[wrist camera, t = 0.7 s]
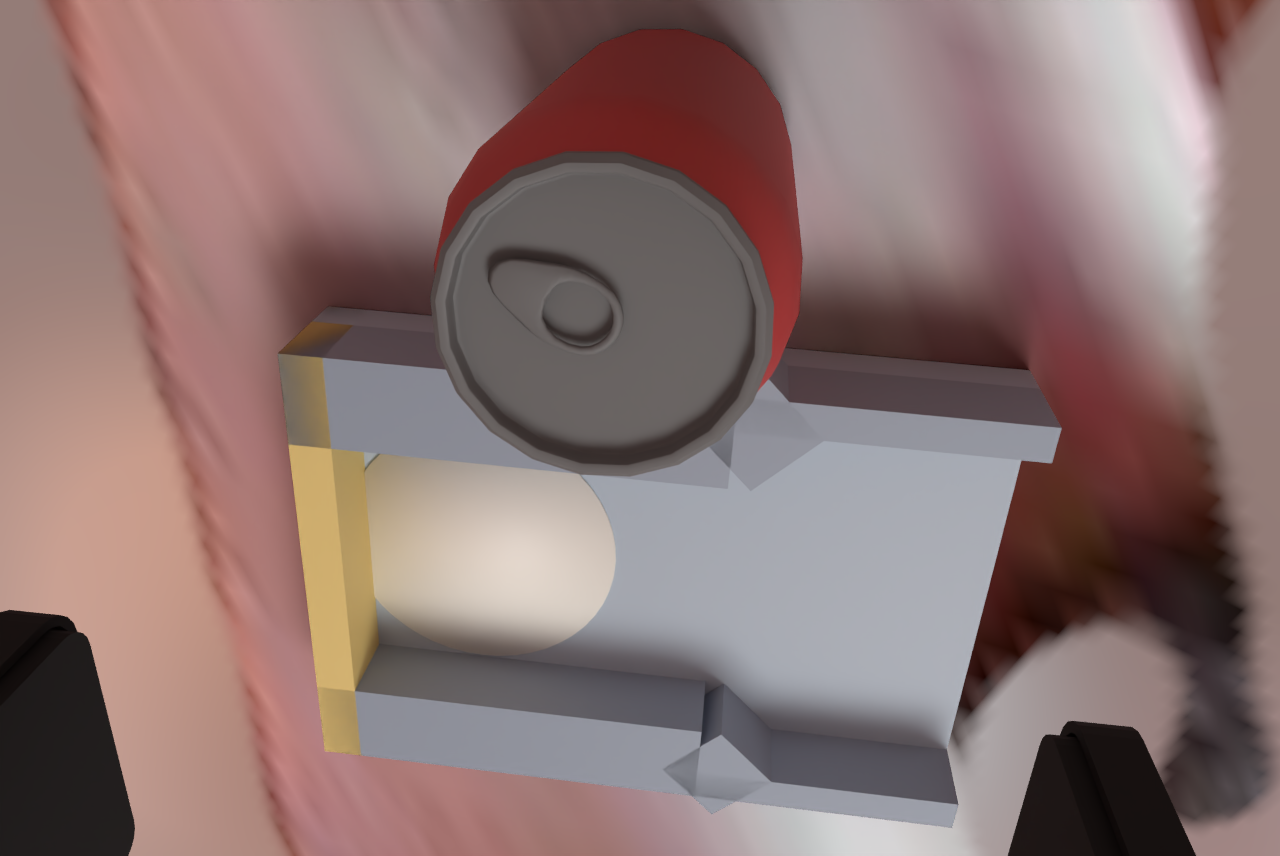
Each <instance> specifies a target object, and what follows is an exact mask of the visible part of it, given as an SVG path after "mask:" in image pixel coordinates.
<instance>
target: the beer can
mask: <svg viewBox="0 0 1280 856" xmlns="http://www.w3.org/2000/svg"><path fill="white" fill-rule="evenodd" d="M434 269H435V277H434V281H433V286H432V291H431V295H430V301H431V310H432V319H433V327H434V336H435V345H436V349H437V351H438V353H439V355H440V358H441V360H442V362H443V364H444V366H445V369H446V371H447V373H448V375H449V378H450V380H451V382H452V384H453V386H454V389H455V391H456V393H457V394H458V395H459V397H460V398H461V399H462V400H463V401H464V402H465V403H466V405H467V406H468V407H469V408H470V409H471V410H472V411H473V413H474V414H475V415H476V416H477V417H478V418H479V420H480V421H481V422H482V423H483V424H484V425H485V426H486V428H487V429H488V430H489V431H490V432H492V433H493V434H495V435H496V436H498V437H499V438H501V439H502V440H504V441H505V442H507V443H508V444H510V445H511V446H513V447H514V448H516V449H517V450H519V451H521V452H522V453H524V454H525V455H527V456H528V457H530V458H531V459H533V460H536V461H539V462H543V463H546V464H549V465H552V466H555V467H558V468H561V469H564V470H568V471H571V472H574V473H577V474H580V475H602V476H627V477H631V476H635V475H639V474H643V473H647V472H651V471H656V470H660V469H664V468H668V467H672V466H676V465H679V464H681V463H682V462H684V461H686V460H688V459H689V458H691V457H693V456H694V455H696V454H698V453H699V452H701V451H703V450H704V449H706V448H708V447H709V446H711V445H713V444H714V443H716V442H718V441H719V440H721V439H722V438H723V436H724V435H725V434H726V433H727V432H728V431H729V430H730V428H731V427H732V426H733V425H734V424H735V423H736V422H737V420H738V419H739V418H740V417H741V416H742V415H743V414H744V412H745V411H746V410H747V409H748V408H749V407H750V406H751V404H752V403H753V401H754V399H755V396H756V394H757V392H758V391H759V390H760V388H761V387H762V386H763V385H764V384H765V383H766V382H767V380H768V379H769V378H770V377H771V376H772V374H773V372H774V371H775V369H776V367H777V365H778V364H779V361H780V359H781V357H782V354H783V352H784V349H785V347H786V344H787V342H788V339H789V337H790V335H791V332H792V330H793V327H794V325H795V322H796V320H797V318H798V315H799V309H800V292H801V274H802V248H801V238H800V228H799V218H798V208H797V198H796V188H795V179H794V169H793V159H792V149H791V143H790V139H789V135H788V132H787V128H786V124H785V121H784V117H783V113H782V110H781V106H780V104H779V102H778V101H777V99H776V98H775V96H774V95H773V93H772V92H771V90H770V89H769V87H768V86H767V84H766V83H765V81H764V80H763V78H762V77H761V75H760V74H759V72H758V71H757V69H756V68H754V67H753V66H752V65H750V64H749V63H748V62H747V61H745V60H744V59H743V58H741V57H740V56H739V55H738V54H736V53H735V52H734V51H732V50H731V49H730V48H729V47H727V46H726V45H725V44H723V43H721V42H718V41H715V40H712V39H710V38H707V37H704V36H701V35H698V34H695V33H692V32H689V31H686V30H683V29H640V30H637V31H634V32H631V33H628V34H626V35H623V36H620V37H617V38H614V39H612V40H609V41H606V42H603V43H600V44H599V45H598V46H597V47H595V48H594V49H593V50H592V51H590V52H589V53H588V54H587V55H585V56H584V57H583V58H582V59H580V60H579V61H578V62H577V63H575V64H574V65H573V66H572V67H570V68H569V69H568V70H567V71H566V72H564V73H563V74H562V75H561V76H560V77H559V78H558V79H557V80H555V81H554V82H553V83H552V84H551V85H550V86H549V87H548V88H546V89H545V90H544V91H543V92H542V93H541V94H540V95H539V96H537V97H536V98H535V99H534V100H533V101H532V102H531V103H530V104H529V105H527V106H526V107H525V108H524V109H523V110H522V111H521V112H520V113H518V114H517V115H516V116H515V117H514V118H513V119H512V120H511V121H509V122H508V123H507V124H506V125H505V126H504V127H503V128H502V129H500V130H499V131H498V132H497V133H496V134H495V135H494V136H493V137H491V138H490V139H489V140H488V141H487V142H486V143H485V144H484V145H482V146H481V147H480V148H479V149H478V151H477V152H476V154H475V155H474V157H473V159H472V160H471V162H470V163H469V165H468V167H467V168H466V170H465V172H464V173H463V175H462V176H461V178H460V180H459V181H458V183H457V184H456V186H455V188H454V189H453V191H452V193H451V194H450V196H449V198H448V203H447V207H446V212H445V216H444V221H443V225H442V230H441V234H440V239H439V244H438V248H437V253H436V258H435V263H434Z"/></svg>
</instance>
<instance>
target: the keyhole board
mask: <svg viewBox="0 0 1280 856" xmlns="http://www.w3.org/2000/svg"><path fill="white" fill-rule="evenodd" d="M278 361H279V369H280V378H281V386H282V394H283V403H284V411H285V420H286V428H287V436H288V445H289V453H290V462H291V470H292V479H293V487H294V495H295V504H296V512H297V521H298V529H299V537H300V546H301V554H302V563H303V571H304V579H305V588H306V596H307V605H308V613H309V622H310V630H311V638H312V647H313V655H314V664H315V672H316V680H317V689H318V697H319V706H320V714H321V723H322V731H323V739H324V748H325V751H329V752H338V753H346V754H354V755H362V756H370V757H378V758H387V759H395V760H403V761H411V762H419V763H427V764H436V765H444V766H452V767H460V768H468V769H476V770H484V771H493V772H501V773H509V774H517V775H525V776H533V777H542V778H550V779H558V780H566V781H574V782H582V783H591V784H599V785H607V786H615V787H623V788H631V789H640V790H648V791H656V792H664V793H672V794H680V795H689V796H692V797H693V798H694V799H696V800H697V801H698V802H699V803H700V804H701V805H702V806H703V807H704V808H705V809H706V810H708V811H709V812H710V813H711V814H713V813H715V812H717V811H719V810H721V809H722V808H724V807H726V806H728V805H730V804H732V803H734V802H735V801H737V802H746V803H754V804H762V805H770V806H778V807H786V808H795V809H803V810H811V811H819V812H827V813H835V814H844V815H852V816H860V817H868V818H876V819H884V820H893V821H901V822H909V823H917V824H925V825H933V826H942V827H950V828H952V826H953V822H954V819H955V815H956V812H957V808H958V801H957V796H956V791H955V786H954V782H953V777H952V772H951V767H950V763H949V758H948V753H947V747H948V743H949V739H950V735H951V731H952V727H953V723H954V720H955V716H956V712H957V708H958V704H959V700H960V696H961V692H962V688H963V685H964V681H965V677H966V673H967V669H968V665H969V661H970V657H971V654H972V650H973V646H974V642H975V638H976V634H977V630H978V626H979V623H980V619H981V615H982V611H983V607H984V603H985V599H986V595H987V592H988V588H989V584H990V580H991V576H992V572H993V568H994V564H995V560H996V557H997V553H998V549H999V545H1000V541H1001V537H1002V533H1003V529H1004V526H1005V522H1006V518H1007V514H1008V510H1009V506H1010V502H1011V498H1012V495H1013V491H1014V487H1015V483H1016V479H1017V475H1018V471H1019V467H1020V464H1021V460H1024V461H1034V462H1044V463H1052V461H1053V457H1054V454H1055V450H1056V447H1057V443H1058V439H1059V436H1060V432H1061V426H1060V424H1059V423H1058V421H1057V419H1056V417H1055V415H1054V413H1053V412H1052V410H1051V408H1050V406H1049V404H1048V403H1047V401H1046V399H1045V397H1044V395H1043V394H1042V392H1041V390H1040V388H1039V386H1038V385H1037V383H1036V381H1035V379H1034V377H1033V375H1032V374H1031V372H1030V370H1021V369H1010V368H999V367H988V366H977V365H966V364H955V363H944V362H933V361H922V360H911V359H900V358H889V357H878V356H867V355H856V354H845V353H834V352H823V351H812V350H801V349H790V348H785V349H784V352H783V354H782V357H781V359H780V361H779V364H778V365H777V367H776V369H775V371H774V372H773V374H772V376H771V377H770V378H769V379H768V380H767V382H766V383H765V384H764V385H763V386H762V387H761V388H760V390H759V391H758V392H757V394H756V396H755V399H754V401H753V403H752V404H751V406H750V407H749V408H748V409H747V410H746V411H745V412H744V414H743V415H742V416H741V417H740V418H739V419H738V420H737V422H736V423H735V424H734V425H733V426H732V427H731V428H730V430H729V431H728V432H727V433H726V434H725V435H724V436H723V438H722V439H721V440H719V441H718V442H716V443H714V444H713V445H711V446H709V447H708V448H706V449H704V450H703V451H701V452H699V453H698V454H696V455H694V456H693V457H691V458H689V459H688V460H686V461H684V462H682V463H681V464H679V465H676V466H672V467H668V468H664V469H660V470H656V471H651V472H647V473H643V474H639V475H635V476H631V477H627V476H602V475H580V474H577V473H574V472H571V471H568V470H564V469H561V468H558V467H555V466H552V465H549V464H546V463H543V462H539V461H536V460H533V459H531V458H530V457H528V456H527V455H525V454H524V453H522V452H521V451H519V450H517V449H516V448H514V447H513V446H511V445H510V444H508V443H507V442H505V441H504V440H502V439H501V438H499V437H498V436H496V435H495V434H493V433H492V432H490V431H489V430H488V429H487V428H486V426H485V425H484V424H483V423H482V422H481V421H480V420H479V418H478V417H477V416H476V415H475V414H474V413H473V411H472V410H471V409H470V408H469V407H468V406H467V405H466V403H465V402H464V401H463V400H462V399H461V398H460V397H459V395H458V394H457V393H456V391H455V389H454V386H453V384H452V382H451V380H450V378H449V375H448V373H447V371H446V369H445V366H444V364H443V362H442V360H441V358H440V355H439V353H438V351H437V349H436V345H435V336H434V327H433V319H432V316H429V315H418V314H407V313H396V312H385V311H374V310H363V309H352V308H341V307H330V306H328V307H327V308H326V309H324V310H323V311H322V312H321V313H320V314H319V315H318V316H317V317H316V318H315V319H314V320H313V321H312V322H311V323H310V324H309V325H308V326H306V327H305V328H304V329H303V330H302V331H301V332H300V333H299V334H298V335H297V336H296V337H295V338H294V339H293V340H292V341H291V342H290V343H288V344H287V345H286V346H285V347H284V348H283V349H282V350H281V351H280V352H279V353H278Z"/></svg>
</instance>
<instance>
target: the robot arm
mask: <svg viewBox="0 0 1280 856" xmlns="http://www.w3.org/2000/svg"><path fill="white" fill-rule="evenodd" d="M134 831H135V826H134V819H133V815H132V811H131V807H130V803H129V799H128V795H127V791H126V787H125V783H124V779H123V775H122V771H121V767H120V763H119V759H118V755H117V751H116V746H115V742H114V738H113V734H112V730H111V727H110V722H109V718H108V715H107V710H106V706H105V702H104V698H103V695H102V691H101V686H100V683H99V678H98V675H97V670H96V666H95V663H94V658H93V654H92V650H91V646H90V643H89V641H88V638H87V637H86V636H85V635H84V634H83V633H79V632H77V630H76V628H75V625H74V623H73V622H72V621H71V620H70V619H69V618H68V617H65V616H61V615H53V614H52V615H51V614H43V613H33V612H24V611H14V610H8V611H4V612H0V856H128V854H129V852H130V850H131V847H132V843H133V839H134ZM1008 856H1196V855H1195V852H1194V850H1193V848H1192V846H1191V844H1190V842H1189V839H1188V837H1187V835H1186V833H1185V830H1184V828H1183V826H1182V824H1181V822H1180V820H1179V817H1178V815H1177V813H1176V811H1175V809H1174V806H1173V804H1172V802H1171V800H1170V798H1169V795H1168V793H1167V791H1166V789H1165V787H1164V784H1163V782H1162V780H1161V778H1160V776H1159V774H1158V771H1157V769H1156V767H1155V765H1154V763H1153V760H1152V758H1151V756H1150V754H1149V752H1148V750H1147V747H1146V745H1145V743H1144V741H1143V739H1142V737H1141V736H1140V734H1139V732H1138V731H1137V730H1135V729H1134V728H1133V727H1125V726H1116V725H1107V724H1097V723H1087V722H1077V721H1069V722H1067V723H1066V724H1065V726H1064V727H1063V729H1062V731H1061V734H1060V736H1059V735H1045V736H1044V737H1043V739H1042V741H1041V743H1040V746H1039V750H1038V753H1037V757H1036V760H1035V763H1034V768H1033V771H1032V774H1031V777H1030V781H1029V784H1028V788H1027V791H1026V795H1025V798H1024V802H1023V805H1022V809H1021V812H1020V815H1019V819H1018V822H1017V826H1016V829H1015V833H1014V836H1013V840H1012V843H1011V847H1010V850H1009V853H1008Z"/></svg>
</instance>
